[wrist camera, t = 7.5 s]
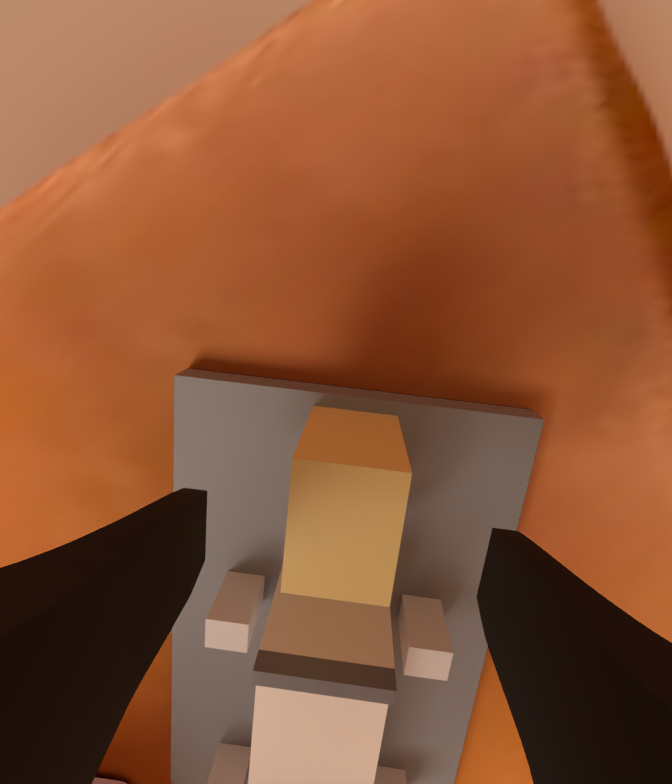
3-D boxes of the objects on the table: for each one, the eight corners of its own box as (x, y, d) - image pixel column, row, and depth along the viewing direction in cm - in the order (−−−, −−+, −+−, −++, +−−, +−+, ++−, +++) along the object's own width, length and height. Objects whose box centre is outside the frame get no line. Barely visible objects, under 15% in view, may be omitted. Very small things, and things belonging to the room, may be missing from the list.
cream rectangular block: (283, 555, 17) (251, 670, 12) (387, 569, 17) (398, 691, 12) (263, 780, 20) (230, 944, 15) (350, 793, 20) (346, 964, 15)
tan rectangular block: (382, 516, 16) (389, 607, 12) (303, 506, 16) (280, 591, 12) (397, 415, 15) (412, 473, 11) (312, 405, 15) (292, 458, 11)
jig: (439, 794, 21) (455, 899, 18) (180, 756, 21) (144, 851, 18) (530, 409, 16) (579, 447, 12) (187, 368, 16) (138, 393, 13)
